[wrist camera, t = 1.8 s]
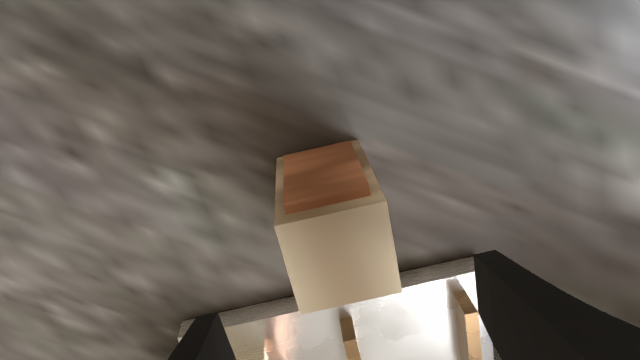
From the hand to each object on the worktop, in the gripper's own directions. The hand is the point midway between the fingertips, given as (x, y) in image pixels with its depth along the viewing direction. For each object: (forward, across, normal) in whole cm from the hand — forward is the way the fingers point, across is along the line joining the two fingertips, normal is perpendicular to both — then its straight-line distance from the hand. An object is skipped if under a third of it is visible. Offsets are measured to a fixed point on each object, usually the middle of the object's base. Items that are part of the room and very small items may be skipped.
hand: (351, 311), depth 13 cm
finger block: (+8, 0, 0) cm, 8 cm away
